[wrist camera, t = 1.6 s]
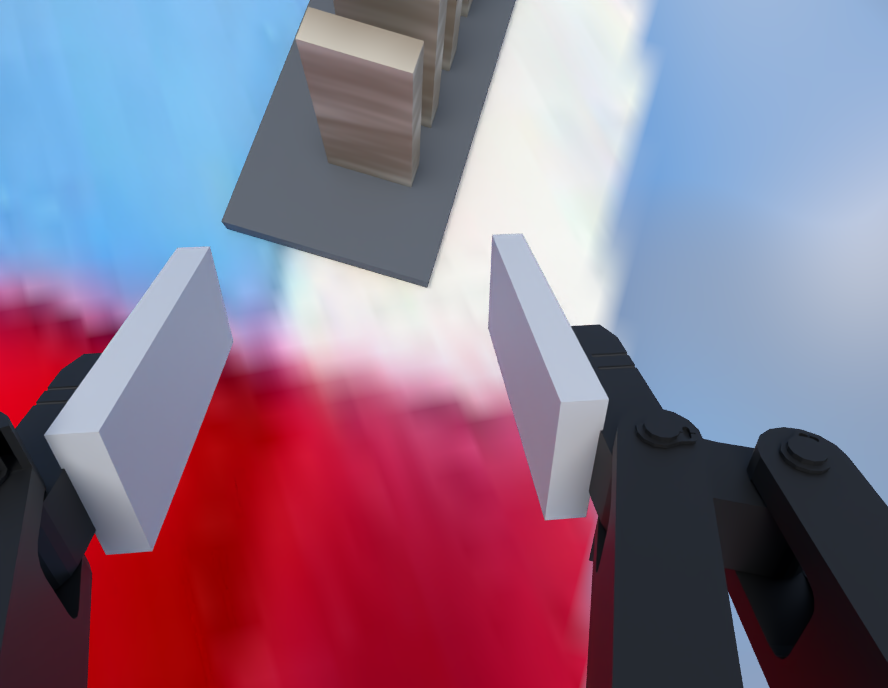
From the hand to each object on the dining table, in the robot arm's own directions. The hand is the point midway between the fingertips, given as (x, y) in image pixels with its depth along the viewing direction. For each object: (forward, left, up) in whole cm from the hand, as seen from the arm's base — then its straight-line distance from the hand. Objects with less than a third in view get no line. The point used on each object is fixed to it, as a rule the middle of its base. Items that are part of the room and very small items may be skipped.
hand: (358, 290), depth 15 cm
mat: (-12, +18, -18) cm, 28 cm away
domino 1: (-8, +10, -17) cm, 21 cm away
